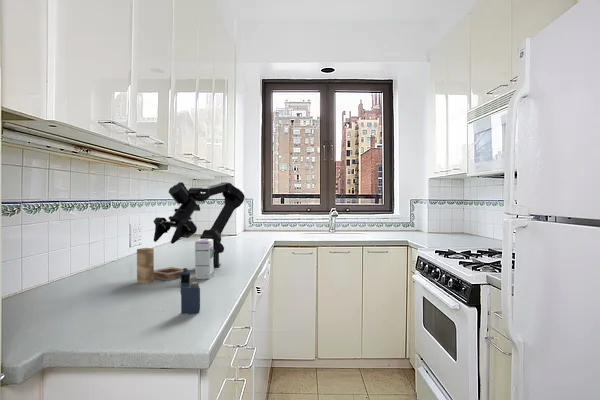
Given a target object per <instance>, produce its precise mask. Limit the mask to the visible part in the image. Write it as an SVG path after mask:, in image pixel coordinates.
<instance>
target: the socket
mask: <svg viewBox="0 0 600 400" xmlns="http://www.w3.org/2000/svg"><path fill="white" fill-rule="evenodd" d="M182 271H183V268H178V267H174V266H169V267H164V268H158V269H155V270H154V280H162V281H171V280H176V279H181V272H182ZM187 271H190V272H191V269H187Z"/></svg>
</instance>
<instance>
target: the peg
mask: <svg viewBox="0 0 600 400" xmlns="http://www.w3.org/2000/svg"><path fill="white" fill-rule="evenodd" d="M154 250H155V249H154V248H151V247H141V248H137V249H136V283H138V284H142V285H143V284H144V285H145V284H149V283H154V281H155V278H154V269H155V267H154V264H155V262H154V261H155V260H154V257H155V256H154V255H155V253H154V252H155V251H154Z"/></svg>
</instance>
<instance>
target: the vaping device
mask: <svg viewBox="0 0 600 400" xmlns="http://www.w3.org/2000/svg"><path fill="white" fill-rule="evenodd" d="M182 269H183V271H182V272H181V278H180V290H179V291H180V296H181V297H180V299H181V300H180V303H181V304H180V310H181V311H180V314H183V315H197V314H199V313H200V312H201V288H200V285H199V282H198V281H192V282H191V279H190V278H191V270H190V271H187V270H188V268H187V267H184V268H182Z"/></svg>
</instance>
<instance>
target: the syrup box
mask: <svg viewBox="0 0 600 400" xmlns="http://www.w3.org/2000/svg"><path fill="white" fill-rule="evenodd" d="M194 263H195V264H194V265H195V266H194V267H195V269H194V270H195V271H194V272H195V273H194V274H195V279H196V280H198V279H199V280H211V278H213V277H214V275H215V270H214V269H215V267H214V256H213V239H200V238H199V239H198V240H195V241H194Z"/></svg>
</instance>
